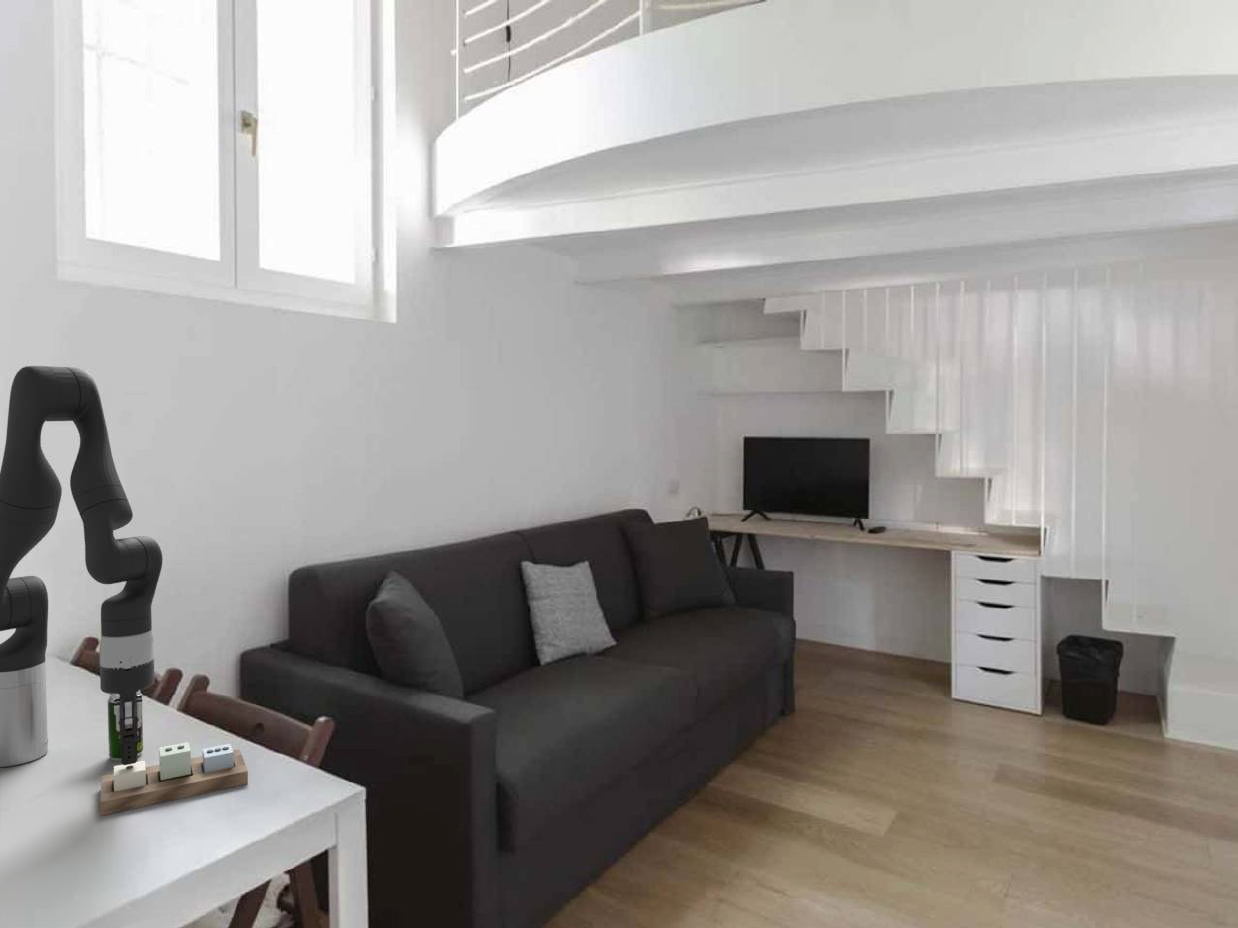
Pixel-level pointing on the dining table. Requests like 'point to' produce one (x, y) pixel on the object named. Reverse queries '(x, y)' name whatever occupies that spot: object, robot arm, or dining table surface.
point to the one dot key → (129, 776)
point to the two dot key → (175, 760)
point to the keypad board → (171, 785)
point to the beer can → (114, 734)
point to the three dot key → (218, 758)
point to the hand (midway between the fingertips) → (129, 762)
